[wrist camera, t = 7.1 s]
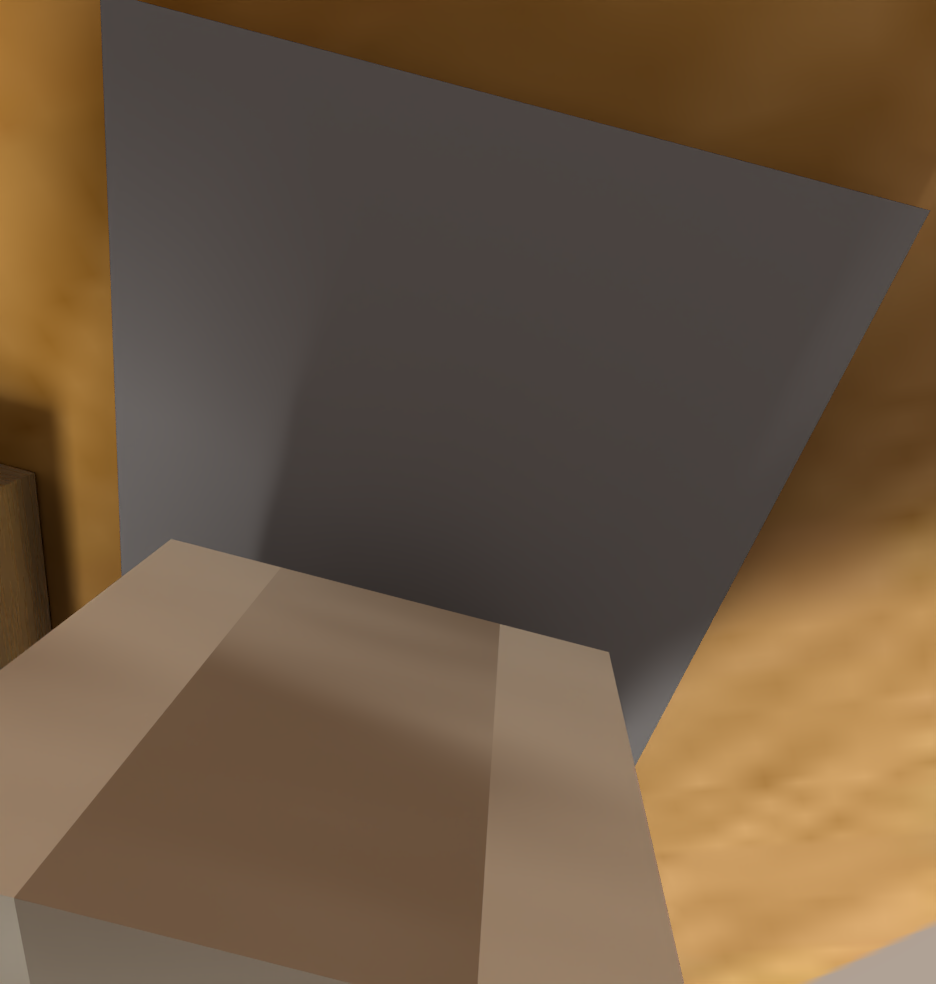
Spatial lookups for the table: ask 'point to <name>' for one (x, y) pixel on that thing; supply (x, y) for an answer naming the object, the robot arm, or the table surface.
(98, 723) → the collar
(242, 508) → the charcoal mat
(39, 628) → the vise
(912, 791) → the table surface
